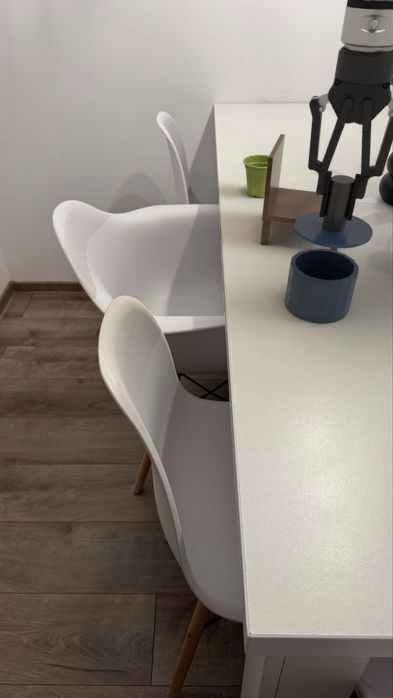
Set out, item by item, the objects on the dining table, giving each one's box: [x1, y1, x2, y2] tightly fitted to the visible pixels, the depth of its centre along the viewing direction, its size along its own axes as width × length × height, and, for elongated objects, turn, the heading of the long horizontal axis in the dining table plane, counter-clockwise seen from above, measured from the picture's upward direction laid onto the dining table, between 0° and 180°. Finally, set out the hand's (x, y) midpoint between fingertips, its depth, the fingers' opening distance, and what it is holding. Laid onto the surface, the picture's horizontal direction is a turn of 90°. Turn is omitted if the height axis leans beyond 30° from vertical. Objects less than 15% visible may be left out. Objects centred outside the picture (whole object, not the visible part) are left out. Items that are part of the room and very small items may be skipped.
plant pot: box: [242, 154, 270, 199], centre depth 126 cm, size 9×9×9 cm
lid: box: [294, 174, 374, 249], centre depth 77 cm, size 13×13×9 cm
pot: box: [284, 247, 360, 324], centre depth 87 cm, size 12×12×8 cm
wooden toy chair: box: [260, 133, 339, 252], centre depth 105 cm, size 17×16×19 cm
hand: (335, 215), depth 78 cm, fingers closed on lid, 4 cm apart
